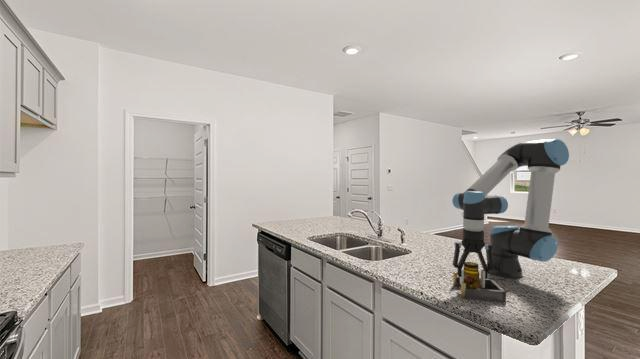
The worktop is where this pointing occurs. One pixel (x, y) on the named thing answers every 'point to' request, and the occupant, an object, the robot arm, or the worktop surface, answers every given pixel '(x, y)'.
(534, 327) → the worktop surface
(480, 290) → the grey open rectangular box
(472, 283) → the condiment
